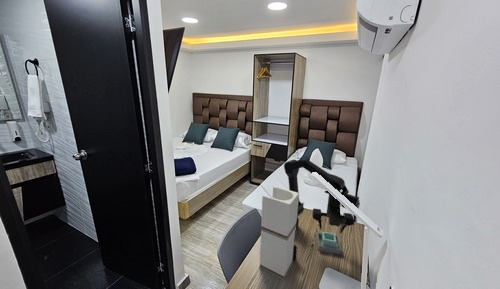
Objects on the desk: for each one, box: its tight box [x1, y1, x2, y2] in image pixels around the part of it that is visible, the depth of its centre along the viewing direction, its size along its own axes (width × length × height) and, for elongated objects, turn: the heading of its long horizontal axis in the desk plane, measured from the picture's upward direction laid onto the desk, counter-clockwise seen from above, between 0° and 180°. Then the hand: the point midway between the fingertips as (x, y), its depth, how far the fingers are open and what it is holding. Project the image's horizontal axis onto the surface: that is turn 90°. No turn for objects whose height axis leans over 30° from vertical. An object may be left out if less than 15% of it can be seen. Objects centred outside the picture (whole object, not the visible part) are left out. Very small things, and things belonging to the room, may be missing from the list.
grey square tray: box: [316, 232, 343, 255], centre depth 103 cm, size 10×10×3 cm
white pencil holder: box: [259, 185, 300, 281], centre depth 86 cm, size 11×11×35 cm
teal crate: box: [321, 231, 336, 248], centre depth 103 cm, size 6×6×5 cm
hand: (330, 231), depth 101 cm, fingers open, 9 cm apart
